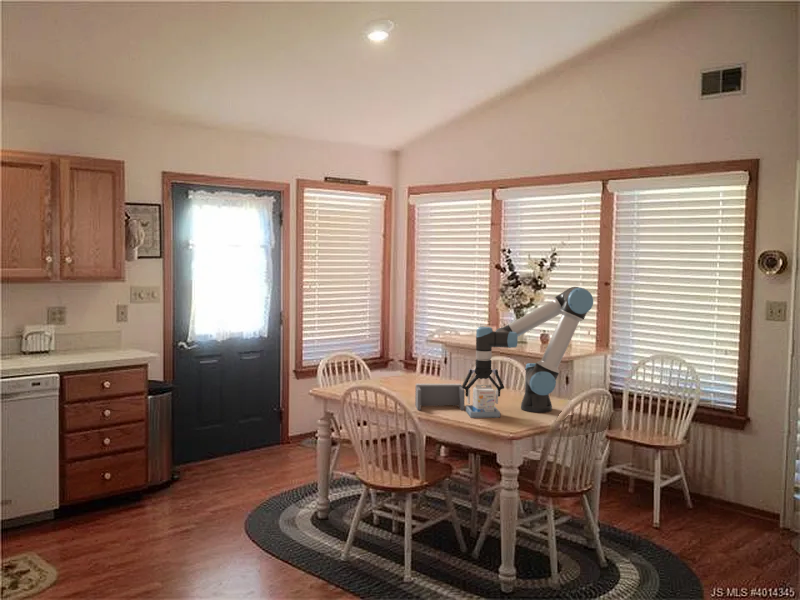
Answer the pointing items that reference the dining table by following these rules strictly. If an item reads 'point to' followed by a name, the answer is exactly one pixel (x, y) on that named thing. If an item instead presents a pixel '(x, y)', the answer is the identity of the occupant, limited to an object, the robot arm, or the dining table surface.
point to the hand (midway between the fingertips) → (482, 403)
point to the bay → (439, 395)
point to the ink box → (483, 398)
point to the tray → (482, 413)
